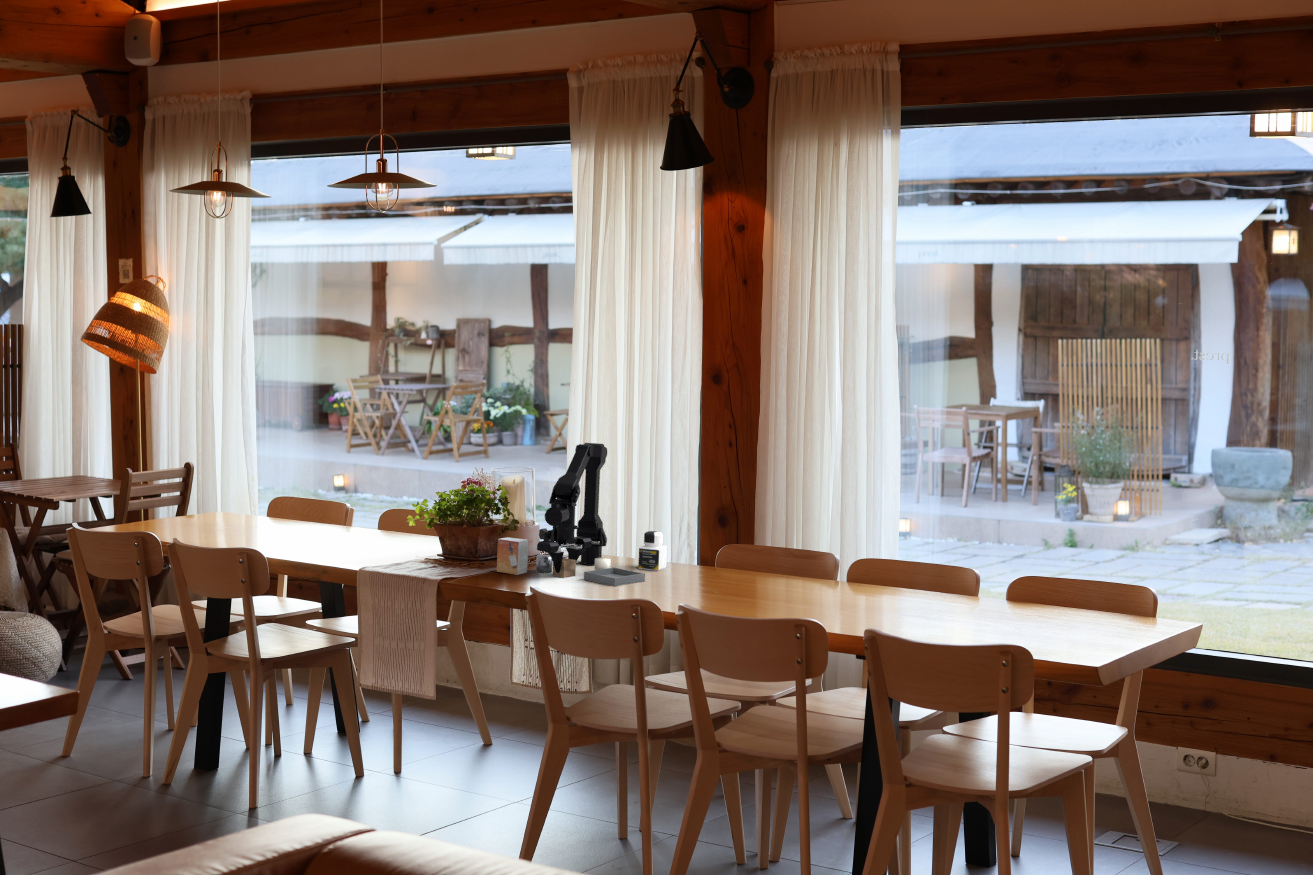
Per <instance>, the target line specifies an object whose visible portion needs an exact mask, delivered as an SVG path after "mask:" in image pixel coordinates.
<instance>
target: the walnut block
mask: <svg viewBox="0 0 1313 875" xmlns="http://www.w3.org/2000/svg"><path fill="white" fill-rule="evenodd" d="M576 565H577V562H576V560H573V559H568V557H567V558H566V557H563V559H562V564H561V569H560V572H559V573H556V570H555V567H554V564H553V563H552V576H554V577H558V578H563V579H564V578H565V579H566V578H571V577H572V578H573V577H576V567H577V566H576Z"/></svg>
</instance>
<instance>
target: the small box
mask: <svg viewBox="0 0 1313 875" xmlns="http://www.w3.org/2000/svg"><path fill="white" fill-rule="evenodd" d="M528 551H529V539H526V538H525V539H523V538H515V537H510V536H509V537H502V538H497V554H496V555H497V556H496V558H497V559H496V572H498V573H505V574H510V575H515V576H518V575H523V574H526V573H528V563H529V562H528V559H529V558H528V557H529V556H528V554H529V552H528Z"/></svg>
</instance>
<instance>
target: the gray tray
mask: <svg viewBox="0 0 1313 875" xmlns="http://www.w3.org/2000/svg"><path fill="white" fill-rule="evenodd" d="M583 580H584V581H588V582H593V583H597V584H603V585H608V586H611V585H613V587H619V586H624V585H630V584H636V583H642V582H643V583H644V582H645V580H646V573H644V572H639V571H633V570H629V569H625V568H624V569H623V568H620V567H616V566H615V567H611V568H606V569H600V570H594V569H593V570H587V571H584V572H583ZM618 585H619V586H618Z"/></svg>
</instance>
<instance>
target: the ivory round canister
mask: <svg viewBox="0 0 1313 875" xmlns="http://www.w3.org/2000/svg"><path fill="white" fill-rule="evenodd" d="M611 560H612V559H611V558H609V557H602V558H595V565H594V569H593V570H600V569H606V568H612V564H611V563H612V562H611Z"/></svg>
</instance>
